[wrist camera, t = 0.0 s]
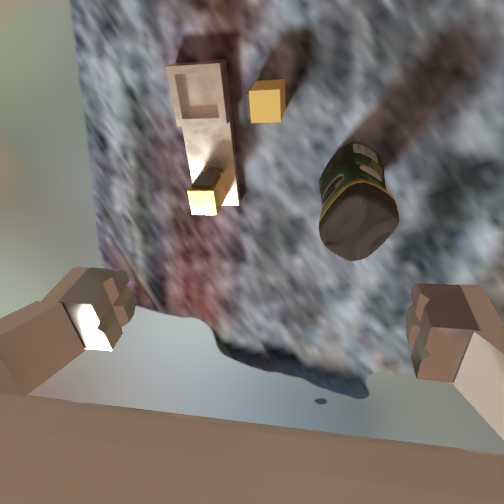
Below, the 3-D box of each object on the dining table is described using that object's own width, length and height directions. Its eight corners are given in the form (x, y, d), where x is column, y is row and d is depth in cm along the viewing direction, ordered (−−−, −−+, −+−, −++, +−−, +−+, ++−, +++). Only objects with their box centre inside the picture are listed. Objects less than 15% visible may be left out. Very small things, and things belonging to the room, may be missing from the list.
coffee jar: (351, 207, 60) (359, 276, 45) (312, 183, 59) (306, 246, 44) (392, 160, 55) (415, 221, 40) (349, 132, 54) (357, 185, 39)
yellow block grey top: (253, 80, 52) (244, 91, 46) (285, 79, 51) (279, 89, 45) (255, 109, 54) (247, 123, 48) (285, 108, 53) (280, 122, 48)
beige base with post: (175, 62, 52) (150, 73, 45) (226, 59, 51) (209, 69, 43) (199, 199, 65) (183, 225, 57) (241, 200, 63) (229, 226, 56)
